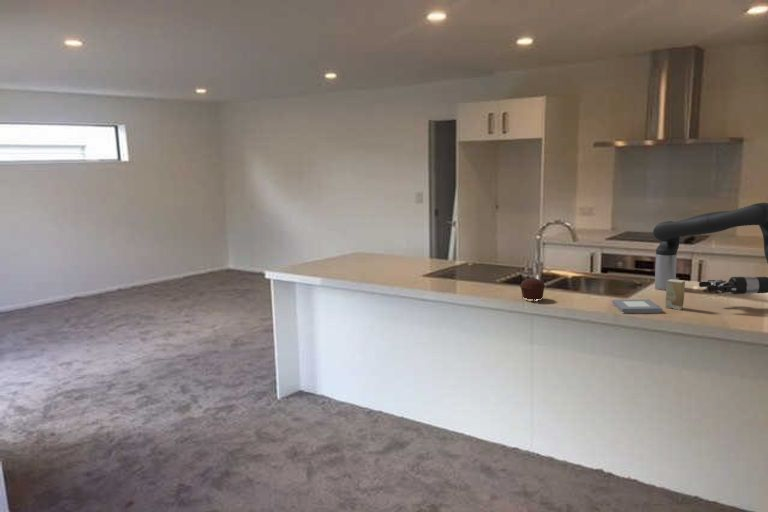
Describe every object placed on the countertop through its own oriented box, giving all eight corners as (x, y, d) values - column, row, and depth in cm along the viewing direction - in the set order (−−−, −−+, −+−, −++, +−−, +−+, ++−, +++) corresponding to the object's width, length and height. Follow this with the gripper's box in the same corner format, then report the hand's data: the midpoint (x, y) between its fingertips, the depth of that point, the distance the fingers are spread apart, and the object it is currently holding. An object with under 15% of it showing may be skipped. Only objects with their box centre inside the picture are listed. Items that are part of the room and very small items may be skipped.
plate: (612, 303, 263) (612, 299, 263) (649, 303, 261) (649, 299, 261) (622, 313, 248) (622, 308, 247) (661, 312, 246) (661, 308, 245)
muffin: (547, 298, 279) (548, 277, 277) (541, 303, 269) (541, 282, 268) (523, 296, 285) (523, 276, 283) (516, 301, 276) (516, 280, 274)
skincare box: (664, 307, 253) (665, 280, 251) (668, 305, 256) (669, 278, 254) (680, 310, 249) (681, 282, 247) (684, 308, 252) (685, 280, 250)
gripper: (736, 273, 254) (696, 274, 256) (752, 280, 240) (710, 281, 242) (735, 290, 255) (696, 291, 257) (751, 297, 241) (710, 298, 243)
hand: (703, 286), depth 249 cm, fingers open, 8 cm apart
